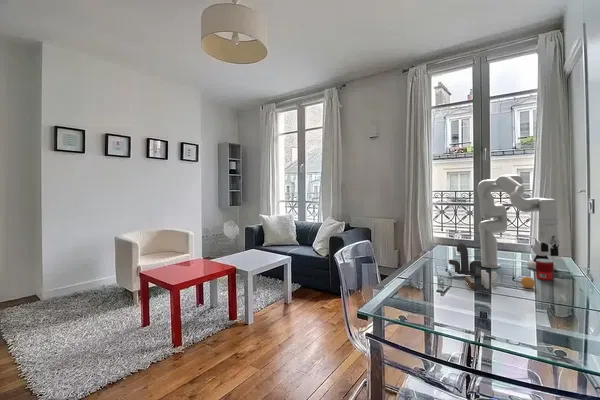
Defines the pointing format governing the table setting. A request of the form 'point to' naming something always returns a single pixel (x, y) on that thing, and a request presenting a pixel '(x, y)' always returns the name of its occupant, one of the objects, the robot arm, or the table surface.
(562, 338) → the table surface
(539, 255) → the decorative figurine
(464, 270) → the faucet
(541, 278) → the canned food
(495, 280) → the front pin
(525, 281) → the ball
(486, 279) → the pin
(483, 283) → the pin
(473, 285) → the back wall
